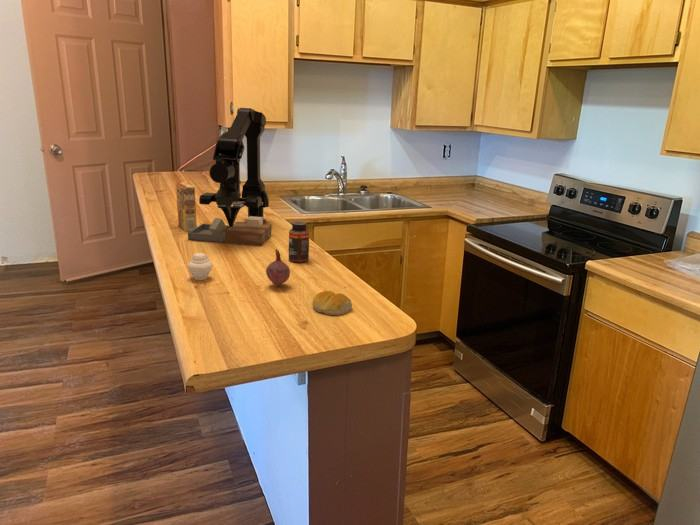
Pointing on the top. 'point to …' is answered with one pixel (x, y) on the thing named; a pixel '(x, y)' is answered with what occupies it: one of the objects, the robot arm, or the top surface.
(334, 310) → the bread roll
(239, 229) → the walnut board
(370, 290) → the top surface
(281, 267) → the vegetable
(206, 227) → the tray
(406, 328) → the top surface
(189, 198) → the candy box
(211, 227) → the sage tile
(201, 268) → the white lidded jar
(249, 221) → the cream tile
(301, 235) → the supplement bottle
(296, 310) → the top surface
